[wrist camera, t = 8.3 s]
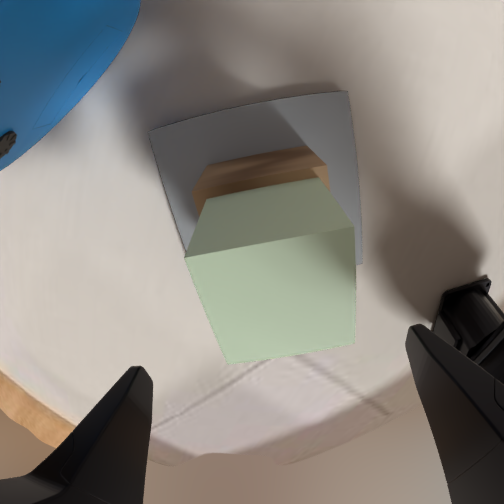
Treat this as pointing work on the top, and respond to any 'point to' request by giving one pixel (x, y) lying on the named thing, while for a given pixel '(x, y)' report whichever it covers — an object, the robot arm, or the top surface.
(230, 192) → the walnut block
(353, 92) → the top surface
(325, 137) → the mat
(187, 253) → the sage cube
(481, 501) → the robot arm
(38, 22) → the alarm clock
